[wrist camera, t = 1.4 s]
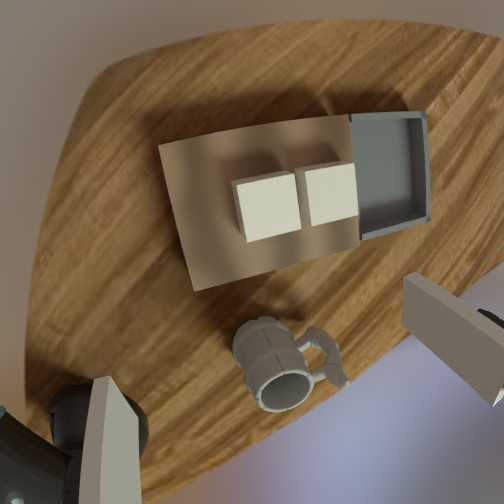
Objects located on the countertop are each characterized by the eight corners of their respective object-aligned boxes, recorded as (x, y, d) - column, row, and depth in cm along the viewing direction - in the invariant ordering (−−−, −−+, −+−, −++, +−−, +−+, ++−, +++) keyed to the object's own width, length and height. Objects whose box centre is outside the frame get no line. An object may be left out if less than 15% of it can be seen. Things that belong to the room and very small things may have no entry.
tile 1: (300, 219, 31) (311, 226, 28) (294, 168, 29) (304, 171, 26) (345, 208, 31) (358, 214, 29) (340, 160, 29) (354, 163, 27)
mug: (223, 324, 37) (247, 395, 26) (315, 295, 39) (365, 351, 28) (237, 369, 40) (261, 438, 29) (319, 341, 42) (362, 399, 31)
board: (191, 274, 34) (194, 291, 30) (159, 144, 29) (158, 145, 25) (342, 235, 37) (359, 246, 33) (329, 115, 32) (348, 114, 28)
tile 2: (240, 234, 30) (247, 242, 27) (230, 181, 28) (236, 185, 25) (291, 221, 30) (301, 228, 28) (284, 170, 28) (294, 173, 26)
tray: (349, 233, 37) (362, 241, 34) (336, 115, 32) (351, 114, 29) (415, 215, 39) (430, 221, 36) (409, 111, 34) (425, 111, 31)
